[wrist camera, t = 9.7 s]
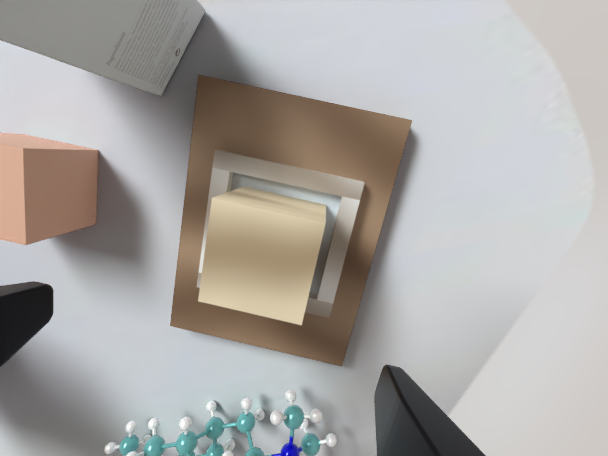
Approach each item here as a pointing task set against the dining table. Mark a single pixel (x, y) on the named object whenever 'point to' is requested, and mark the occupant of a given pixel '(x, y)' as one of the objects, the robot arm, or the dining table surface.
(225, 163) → the walnut board
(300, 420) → the molecule model
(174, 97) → the dining table surface
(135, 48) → the small box
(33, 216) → the terracotta block
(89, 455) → the dining table surface
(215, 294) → the maple block
